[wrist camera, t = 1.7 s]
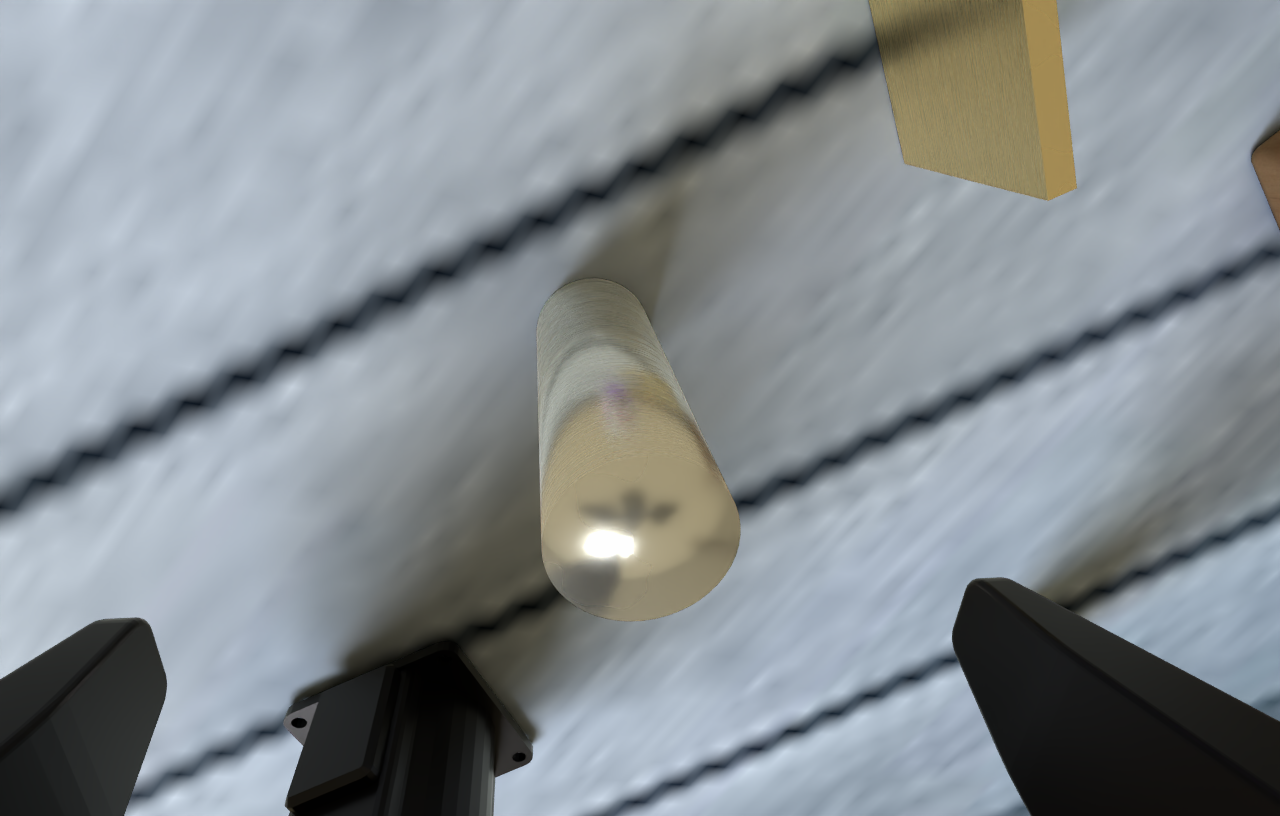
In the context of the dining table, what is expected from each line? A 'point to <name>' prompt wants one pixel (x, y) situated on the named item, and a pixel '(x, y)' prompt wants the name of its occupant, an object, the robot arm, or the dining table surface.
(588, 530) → the pin
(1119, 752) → the robot arm
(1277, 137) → the wooden block
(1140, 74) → the dining table surface
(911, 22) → the hinge
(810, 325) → the dining table surface
